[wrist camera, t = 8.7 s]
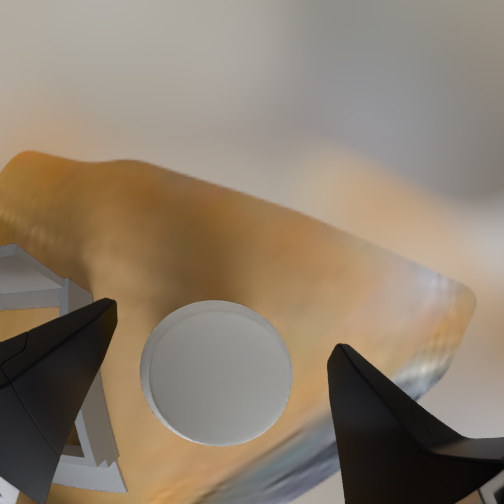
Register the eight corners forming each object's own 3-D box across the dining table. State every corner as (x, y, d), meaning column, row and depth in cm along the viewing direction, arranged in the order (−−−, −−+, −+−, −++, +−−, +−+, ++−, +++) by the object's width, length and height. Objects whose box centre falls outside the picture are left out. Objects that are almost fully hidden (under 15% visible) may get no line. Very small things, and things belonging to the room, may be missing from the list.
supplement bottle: (153, 340, 16) (94, 314, 7) (234, 312, 18) (274, 255, 8) (186, 420, 14) (169, 492, 5) (267, 390, 16) (345, 420, 7)
